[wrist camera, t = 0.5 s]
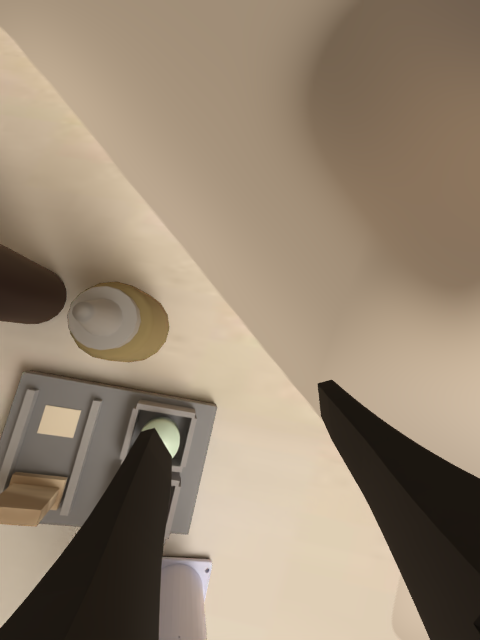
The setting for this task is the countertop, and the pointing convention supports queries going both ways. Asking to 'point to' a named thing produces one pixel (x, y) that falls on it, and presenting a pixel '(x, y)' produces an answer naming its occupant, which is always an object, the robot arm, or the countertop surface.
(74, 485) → the panel
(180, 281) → the countertop surface
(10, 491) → the tan wooden step block
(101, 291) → the squeeze bottle
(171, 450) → the mint button
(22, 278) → the vinegar
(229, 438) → the countertop surface
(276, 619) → the countertop surface
